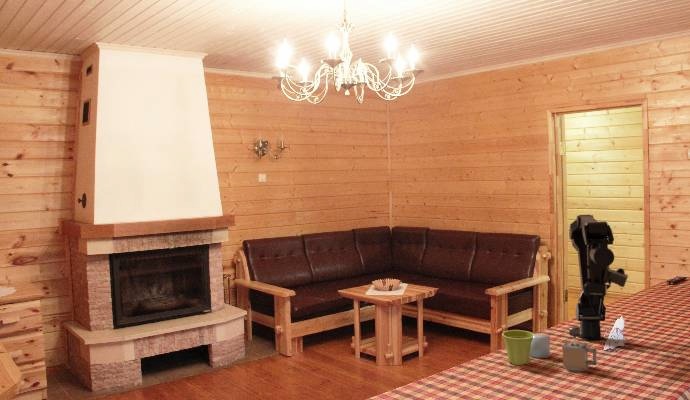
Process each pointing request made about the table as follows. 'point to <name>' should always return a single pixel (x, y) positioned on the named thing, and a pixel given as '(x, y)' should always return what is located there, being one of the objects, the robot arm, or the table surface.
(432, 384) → the table surface
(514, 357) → the plant pot
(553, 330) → the table surface
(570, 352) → the press carafe
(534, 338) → the grey rounded cylinder
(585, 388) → the table surface
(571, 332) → the plunger
